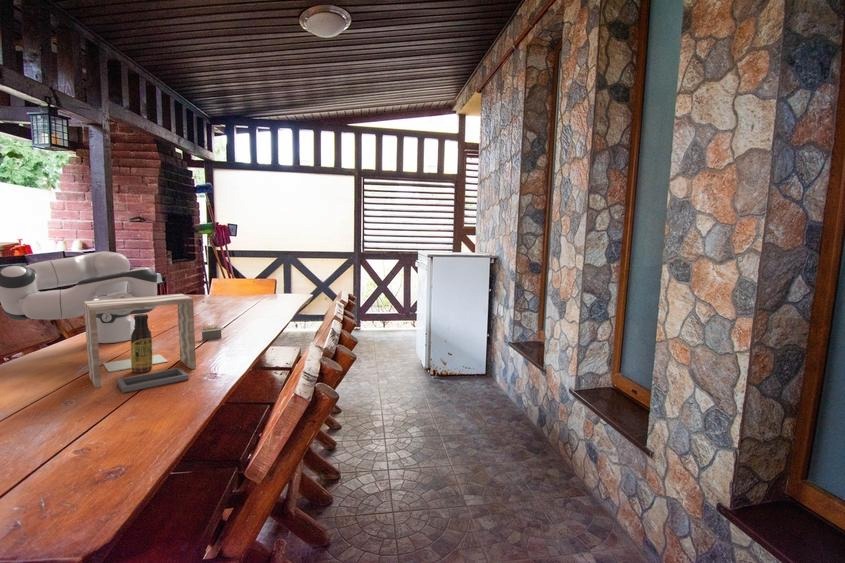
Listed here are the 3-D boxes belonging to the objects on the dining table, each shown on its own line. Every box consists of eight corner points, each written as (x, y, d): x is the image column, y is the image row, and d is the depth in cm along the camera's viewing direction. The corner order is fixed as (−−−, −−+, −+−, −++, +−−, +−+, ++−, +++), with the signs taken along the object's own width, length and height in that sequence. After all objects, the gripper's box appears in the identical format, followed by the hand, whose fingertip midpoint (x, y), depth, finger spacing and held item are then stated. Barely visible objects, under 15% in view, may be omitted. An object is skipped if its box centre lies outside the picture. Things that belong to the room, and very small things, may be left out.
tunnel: (89, 376, 144) (83, 301, 141) (184, 359, 164) (181, 293, 161) (95, 387, 134) (89, 307, 131) (196, 368, 154) (193, 298, 151)
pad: (103, 364, 157) (103, 363, 157) (159, 355, 169) (159, 354, 169) (109, 372, 148) (108, 371, 148) (167, 362, 161) (167, 361, 161)
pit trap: (117, 384, 137) (116, 379, 137) (179, 372, 149) (179, 367, 149) (123, 393, 130) (122, 387, 130) (188, 380, 142) (188, 374, 142)
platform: (187, 339, 196) (187, 325, 195) (230, 334, 206) (229, 321, 205) (191, 345, 186) (190, 330, 185) (235, 339, 196) (235, 325, 196)
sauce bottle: (135, 374, 146) (132, 317, 144) (128, 371, 150) (125, 315, 148) (156, 370, 152) (153, 314, 149) (149, 366, 155) (146, 312, 153)
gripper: (152, 309, 173) (161, 313, 163) (88, 313, 159) (93, 318, 149) (152, 293, 173) (160, 297, 162) (88, 296, 159) (92, 300, 149)
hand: (128, 307), depth 156 cm, fingers open, 8 cm apart
